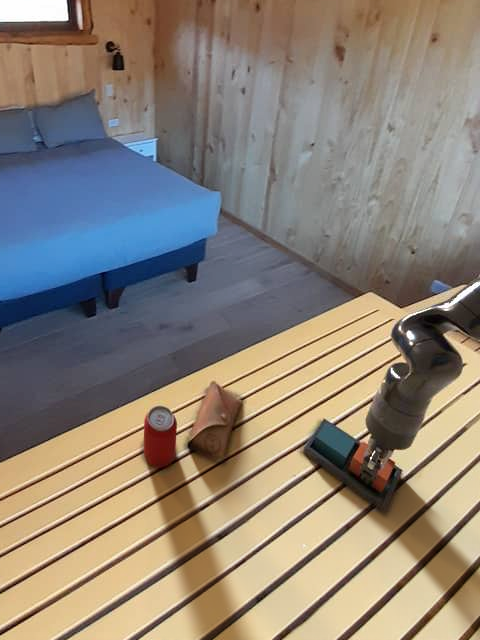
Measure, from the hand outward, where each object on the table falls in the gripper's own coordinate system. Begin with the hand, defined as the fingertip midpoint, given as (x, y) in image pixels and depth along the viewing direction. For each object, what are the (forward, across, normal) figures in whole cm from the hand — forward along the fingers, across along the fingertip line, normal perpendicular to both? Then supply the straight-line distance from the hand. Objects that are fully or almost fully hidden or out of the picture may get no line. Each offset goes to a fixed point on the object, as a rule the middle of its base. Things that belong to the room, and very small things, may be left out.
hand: (370, 470), depth 80 cm
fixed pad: (+2, 0, +7) cm, 7 cm away
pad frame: (+3, 0, +3) cm, 4 cm away
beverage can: (+3, -27, +32) cm, 42 cm away
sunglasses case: (+3, -12, +28) cm, 31 cm away
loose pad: (+1, 0, 0) cm, 1 cm away
